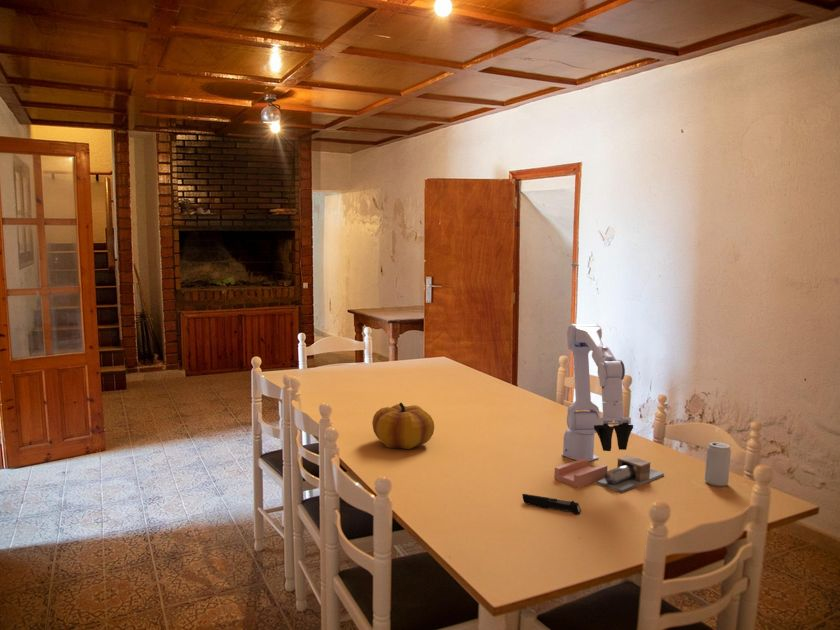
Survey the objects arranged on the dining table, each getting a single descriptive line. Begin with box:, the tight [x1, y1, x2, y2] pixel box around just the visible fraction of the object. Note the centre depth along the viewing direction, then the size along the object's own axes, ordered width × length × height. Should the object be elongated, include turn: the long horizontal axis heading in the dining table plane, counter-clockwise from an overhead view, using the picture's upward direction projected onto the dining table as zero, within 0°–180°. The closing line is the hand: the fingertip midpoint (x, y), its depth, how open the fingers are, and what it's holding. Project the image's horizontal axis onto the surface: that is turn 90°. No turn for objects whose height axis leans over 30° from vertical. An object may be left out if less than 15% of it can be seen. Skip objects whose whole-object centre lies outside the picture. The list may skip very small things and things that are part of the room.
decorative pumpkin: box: [371, 402, 435, 450], centre depth 223 cm, size 20×22×15 cm
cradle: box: [553, 458, 608, 488], centre depth 194 cm, size 9×14×4 cm, turn 129°
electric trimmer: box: [521, 493, 582, 516], centre depth 173 cm, size 4×16×3 cm, turn 67°
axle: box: [605, 464, 636, 485], centre depth 192 cm, size 16×4×4 cm, turn 129°
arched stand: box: [596, 454, 665, 494], centre depth 193 cm, size 8×22×6 cm, turn 129°
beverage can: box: [704, 441, 732, 487], centre depth 191 cm, size 6×6×12 cm
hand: (614, 450), depth 184 cm, fingers open, 7 cm apart
